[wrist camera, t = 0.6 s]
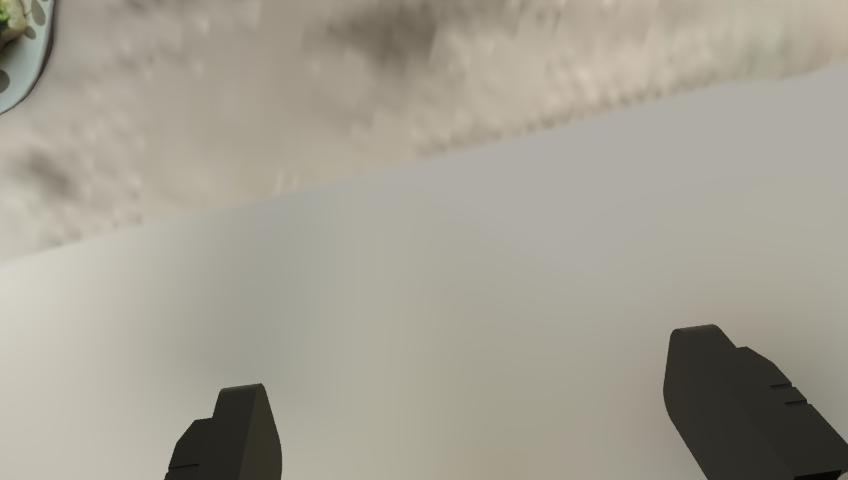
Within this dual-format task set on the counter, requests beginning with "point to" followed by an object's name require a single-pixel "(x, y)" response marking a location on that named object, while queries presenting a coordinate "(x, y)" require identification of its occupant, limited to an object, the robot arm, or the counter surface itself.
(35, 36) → the avocado toast plate
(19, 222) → the counter surface
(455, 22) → the counter surface
